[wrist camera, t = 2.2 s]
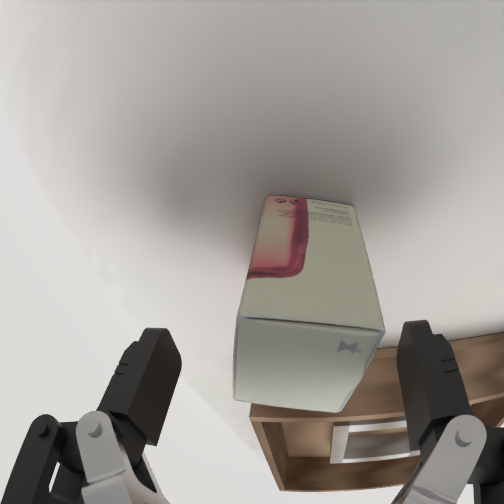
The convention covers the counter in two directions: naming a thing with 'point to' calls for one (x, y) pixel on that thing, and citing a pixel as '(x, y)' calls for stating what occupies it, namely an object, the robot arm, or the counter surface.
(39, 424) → the robot arm
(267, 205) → the small box
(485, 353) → the crate
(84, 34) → the counter surface
